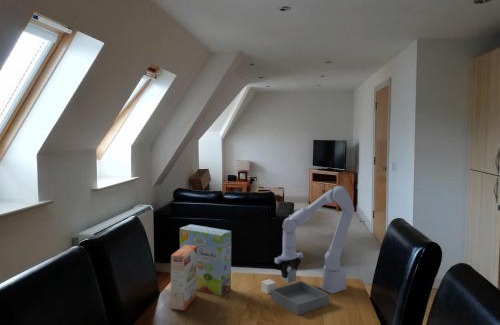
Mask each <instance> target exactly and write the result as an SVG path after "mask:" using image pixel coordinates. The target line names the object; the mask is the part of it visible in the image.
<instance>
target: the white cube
mask: <svg viewBox="0 0 500 325" xmlns="http://www.w3.org/2000/svg"><path fill="white" fill-rule="evenodd" d="M275 288H277V282H276V281H274V280H273V279H270V278H269V279H265V280H264V279H263V280H260V291H261V292H263V293H265V294H266V295H268V294H271V289H275Z"/></svg>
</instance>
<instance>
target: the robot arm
mask: <svg viewBox="0 0 500 325" xmlns="http://www.w3.org/2000/svg"><path fill="white" fill-rule="evenodd" d="M334 203H336V204H337V205H339V208H340V209H341V213H340V216H339V219H338V223H337V226H336V228H335V232H334V235H333V238H332V241H331V244H330V246H329V248H328V249H327V251H326V252H325V253H324V265H323V271H322V272H323V273H322V274H323V275H322V278H323V279H322V284H321V285H319V286H318V288H319V289H320V290H322V291H324V292H326V293H328V294H337V293H338V292H341V291H345V290H347V289H348V287H346V286H347V285H346V284H347V282H346V281H347V273H346V270H345V269H344V267H342V266H341V261H340V259H341V256H342V250H343V247H344V244H345V241H346V239H347V235H348V231H349V228H350V225H351V222H352V220H353V215H354V214H355V206H354V204H353V201H352V198H351V195H350V193H349V192H348V190H347V189H346V187H344V186H343V185H336V186H334V187H333V188H331V189H329V190H328V191H326V192H325V193H323V194H322V195H321V196H320V197H318V198H317V199H315V200H314V201H313V202H312V203H311V204H309V205H308V206H306V207H305V206H302V207H298V208H297V209H296V211H295V212H293V213H292V214H289V215H288V217H286V218H284V220H283V223H282V226H281V228H282V253H281V255H278V256H277V257H274V263H275V264H277V265H278V267H279V269H280V273H281V278H282V277H283V278H286V277H287V268H288V267H289V264H290V267H292V268H294V269H296V272H297V271H298V267H299V265H300V264H301V262H302V261H301V260H302V258H304V253H303V252H301V251H300V252H297V235H296V230H297V227H300V226H302V225H303V224H304V223H306V222H307V221H308V220H310V219H311V218H312V214H313V213H315V211H317V210H319V209H320V208H322V207H323V206H324V205H326V204H334ZM300 258H301V259H300ZM288 261H289V263H288Z"/></svg>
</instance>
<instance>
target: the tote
mask: <svg viewBox="0 0 500 325" xmlns="http://www.w3.org/2000/svg"><path fill="white" fill-rule="evenodd" d="M270 300H272V301H273V302H274V303H277V304H278V305H279V306H281V307H283V308H284V309H286V310H288V311H290V313H293V314H295V315H297V316H300V315H303V314H307V313H308V312H309V313H310V312H312V311H314V310H318V309H320V308H323V307H326V306H329V305H330V293H328V292H326V291H324V290H322V289H320V288H319V289H318V288H316V287H315V286H312V285H310V284H309V283H306V282H305V281H302V280H299V281H295V282H291V283H288V284H285V285H282V286H279V287H276V288H275V289H271V293H270ZM317 308H318V309H317Z"/></svg>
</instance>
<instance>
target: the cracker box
mask: <svg viewBox="0 0 500 325" xmlns="http://www.w3.org/2000/svg"><path fill="white" fill-rule="evenodd" d="M197 293H198V290H197V246H191V245H184V246H183V247H182V248H180V247H179V249H177V250H176V251H175V252H173V253H172V254H171V255H170V310H176V311H186V309H187V308H188V306H189V305H190V304H191V303H192V302H193V301H194V300H195V298H196V297H197V295H198V294H197Z"/></svg>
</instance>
